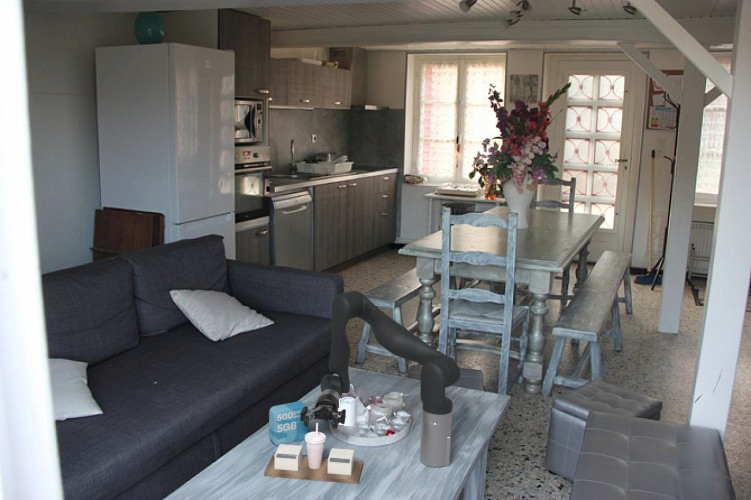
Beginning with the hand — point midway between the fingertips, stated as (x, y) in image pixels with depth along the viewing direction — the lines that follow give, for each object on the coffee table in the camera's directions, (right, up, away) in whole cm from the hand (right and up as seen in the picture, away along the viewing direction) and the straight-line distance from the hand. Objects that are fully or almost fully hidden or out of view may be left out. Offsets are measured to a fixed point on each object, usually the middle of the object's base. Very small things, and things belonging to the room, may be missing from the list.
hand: (319, 425), depth 215 cm
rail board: (-1, -12, -5) cm, 13 cm away
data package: (-11, -9, +13) cm, 19 cm away
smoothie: (-1, -11, -6) cm, 13 cm away
